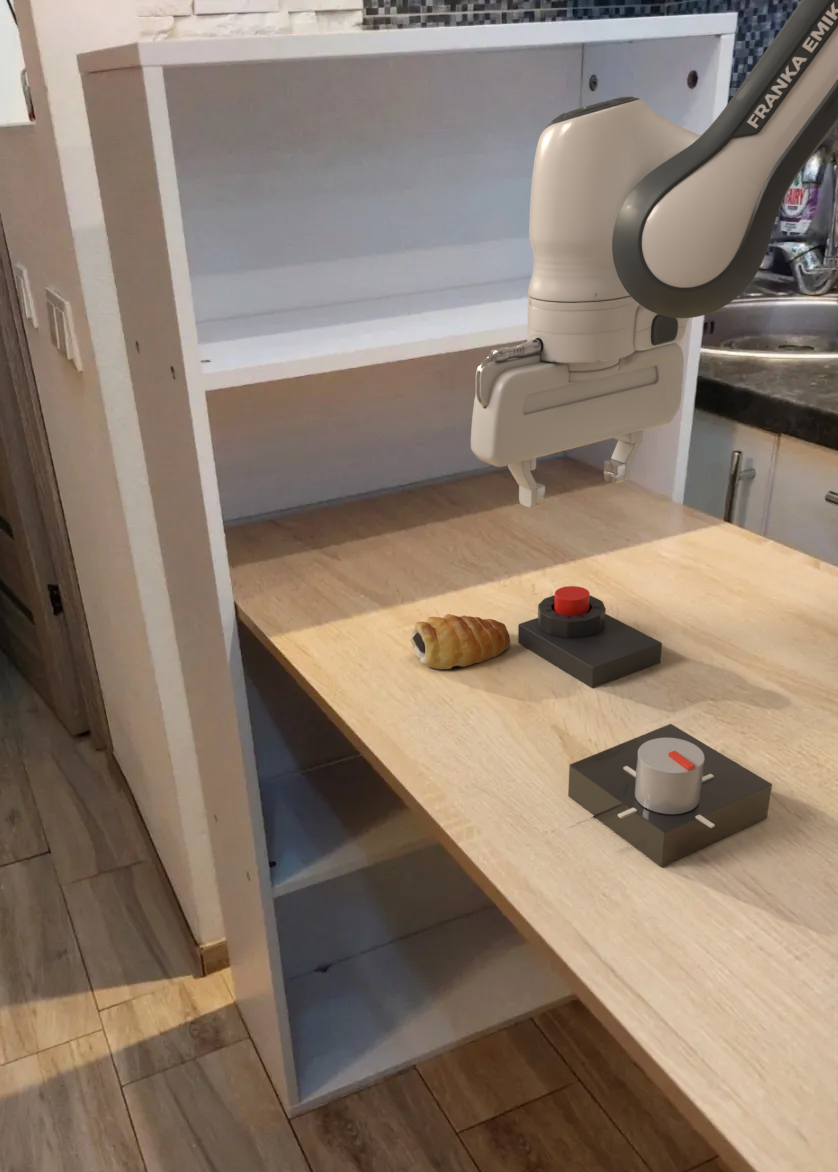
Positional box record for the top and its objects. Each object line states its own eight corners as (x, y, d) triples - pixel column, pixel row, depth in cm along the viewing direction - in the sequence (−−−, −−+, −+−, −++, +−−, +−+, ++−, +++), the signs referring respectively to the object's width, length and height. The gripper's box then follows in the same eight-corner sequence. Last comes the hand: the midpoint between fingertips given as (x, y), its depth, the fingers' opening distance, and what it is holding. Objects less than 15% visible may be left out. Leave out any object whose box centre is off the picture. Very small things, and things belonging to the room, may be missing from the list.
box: (582, 621, 103) (583, 585, 101) (660, 663, 95) (664, 625, 93) (517, 643, 100) (517, 606, 98) (592, 689, 92) (594, 650, 90)
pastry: (494, 629, 103) (494, 595, 101) (521, 659, 98) (522, 623, 96) (405, 647, 101) (404, 612, 100) (428, 678, 96) (426, 642, 94)
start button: (574, 599, 99) (574, 583, 98) (595, 611, 97) (596, 594, 96) (547, 608, 98) (547, 591, 97) (568, 620, 96) (569, 603, 95)
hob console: (667, 755, 82) (670, 721, 80) (781, 827, 73) (787, 791, 72) (554, 802, 78) (555, 768, 76) (660, 885, 69) (664, 848, 67)
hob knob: (621, 789, 73) (624, 744, 72) (672, 771, 75) (676, 727, 73) (661, 821, 70) (665, 775, 68) (713, 803, 71) (719, 757, 69)
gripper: (500, 358, 78) (499, 530, 85) (702, 315, 85) (685, 476, 92) (454, 345, 83) (456, 509, 90) (648, 306, 90) (636, 460, 97)
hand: (574, 492), depth 91 cm, fingers open, 8 cm apart
